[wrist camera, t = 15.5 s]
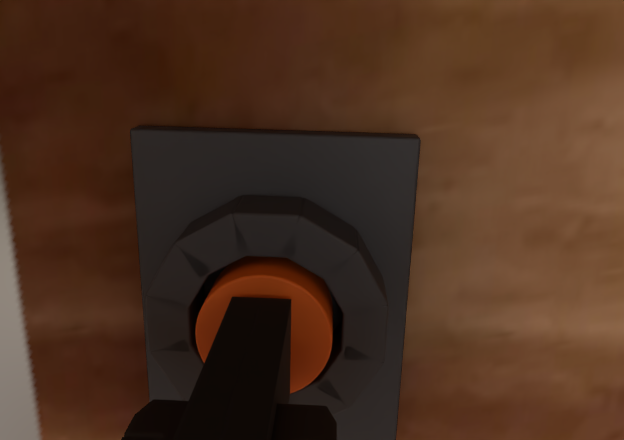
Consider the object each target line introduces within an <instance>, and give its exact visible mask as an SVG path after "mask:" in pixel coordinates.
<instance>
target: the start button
mask: <svg viewBox="0 0 624 440" xmlns="http://www.w3.org/2000/svg"><path fill="white" fill-rule="evenodd" d="M232 297H255V298H279V299H291V361H290V394H291V393H293V392H296V391H298V390H300V389H302V388H304V387H305V386H307V385H308V384H310V383H311V382H312V381H313V380H314V379H315V378H316V377H317V376H318V375H319V374H320V373H321V371H322V370H323V369H324V367H325V365H326V364H327V361H328V359H329V357H330V353H331V349H332V341H333V304H332V298H331V295H330V292H329V289H328V287H327V285H326V283H325V282H324V280H323V279H322V278H321V277H319V276H317V275H315V274H314V273H312V272H310V271H309V270H307V269H305V268H303V267H302V266H300V265H298V264H297V263H295V262H293V261H291V260H290V259H288V258H280V257H254V256H245V257H243V258H241V259H239V260H237V261H235V262H233V263H232V264H230V265H228V266H227V267H226V268H225V269H224V270H223V271H222V272H221V273H220V274H219V276H218V277H217V279H216V280H215V282H214V284H213V286H212V288H211V290H210V292H209V294H208V296H207V298H206V300H205V302H204V304H203V306H202V308H201V310H200V312H199V315H198V317H197V322H196V330H195V336H196V344H197V347H198V351H199V354H200V356H201V358H202V360H203V362H204V363H205V360H206V358H207V356H208V353H209V351H210V348H211V346H212V344H213V341H214V339H215V336H216V334H217V332H218V329H219V327H220V324H221V322H222V320H223V317H224V315H225V312H226V310H227V308H228V305H229V303H230V300H231V298H232Z"/></svg>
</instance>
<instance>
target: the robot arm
mask: <svg viewBox="0 0 624 440" xmlns="http://www.w3.org/2000/svg"><path fill="white" fill-rule="evenodd" d="M290 361H291V299H279V298H255V297H232V298H231V300H230V303H229V305H228V308H227V310H226V312H225V315H224V317H223V320H222V322H221V324H220V327H219V329H218V332H217V334H216V336H215V339H214V341H213V344H212V346H211V348H210V351H209V353H208V356H207V358H206V360H205V363H204V365H203V368H202V370H201V372H200V375H199V377H198V380H197V382H196V384H195V387H194V389H193V392H192V394H191V396H190V399H189V401H180V400H159V399H153V400H152V401H151V402H150V403H148V404H147V405H146V406H145V407H144V408H142V409H141V410H140V411H139V412H138V413H136V414H135V415H134V417H133V419H132V421H131V423H130V424H129V426H128V428H127V430H126V432H125V435H124V437H122V439H121V440H337V422H336V421H335V419H334V417H333V416H332V414H331V412H330V411H329V409H328V407H327V406H320V405H299V404H289V396H290Z"/></svg>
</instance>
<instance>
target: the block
mask: <svg viewBox="0 0 624 440" xmlns="http://www.w3.org/2000/svg"><path fill="white" fill-rule="evenodd" d="M130 136H131V150H132V164H133V178H134V192H135V205H136V219H137V233H138V247H139V261H140V275H141V288H142V302H143V316H144V330H145V344H146V358H147V372H148V385H149V399H150V402H151V401H152V400H153V399H159V400H180V401H189V399H190V396H191V394H192V392H193V389H194V387H195V384H196V382H197V380H198V377H199V375H200V372H201V370H202V368H203V365H204V362H203V360H202V358H201V356H200V354H199V351H198V347H197V344H196V336H195V330H196V322H197V317H198V315H199V312H200V310H201V308H202V306H203V304H204V302H205V300H206V298H207V296H208V294H209V292H210V290H211V288H212V286H213V284H214V282H215V280H216V279H217V277H218V276H219V274H220V273H221V272H222V271H223V270H224V269H225V268H226V267H227V266H228V265H230V264H232V263H233V262H235V261H237V260H239V259H241V258H243V257H245V256H254V257H280V258H288V259H290V260H291V261H293V262H295V263H297V264H298V265H300V266H302V267H303V268H305V269H307V270H309V271H310V272H312V273H314V274H315V275H317V276H319V277H321V278H322V279H323V280H324V282H325V283H326V285H327V287H328V289H329V292H330V295H331V298H332V304H333V341H332V349H331V353H330V357H329V359H328V361H327V364H326V365H325V367H324V369H323V370H322V371H321V373H320V374H319V375H318V376H317V377H316V378H315V379H314V380H313V381H312V382H311V383H310V384H308V385H307V386H305V387H304V388H302V389H300V390H298V391H296V392H293V393H291V394H290V396H289V404H299V405H320V406H327V407H328V409H329V411H330V412H331V414H332V416H333V417H334V419H335V421H336V422H337V440H396V431H397V419H398V407H399V395H400V383H401V371H402V359H403V347H404V335H405V323H406V311H407V299H408V287H409V275H410V263H411V251H412V239H413V226H414V214H415V202H416V190H417V178H418V166H419V154H420V142H421V140H420V138H419V137H418V136H417V135H416V134H389V133H357V132H325V131H293V130H261V129H230V128H198V127H166V126H137V127H135V128H133V129H131V130H130Z"/></svg>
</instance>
